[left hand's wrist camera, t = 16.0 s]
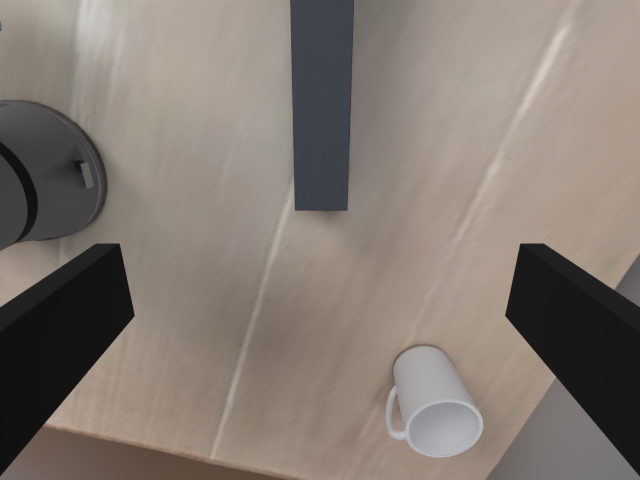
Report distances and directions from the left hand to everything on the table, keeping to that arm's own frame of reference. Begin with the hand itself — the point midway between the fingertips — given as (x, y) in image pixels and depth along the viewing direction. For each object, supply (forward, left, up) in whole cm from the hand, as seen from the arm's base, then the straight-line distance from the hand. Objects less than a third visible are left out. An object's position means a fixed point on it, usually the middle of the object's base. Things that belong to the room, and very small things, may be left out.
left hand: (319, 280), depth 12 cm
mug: (-17, -28, -31) cm, 45 cm away
